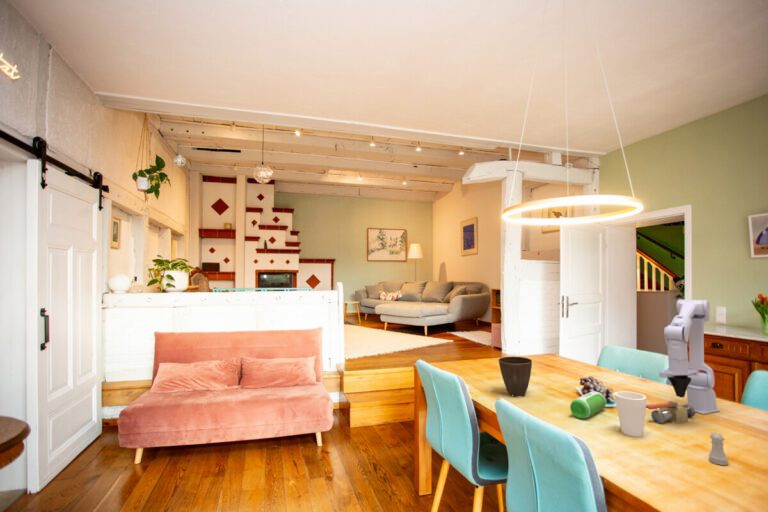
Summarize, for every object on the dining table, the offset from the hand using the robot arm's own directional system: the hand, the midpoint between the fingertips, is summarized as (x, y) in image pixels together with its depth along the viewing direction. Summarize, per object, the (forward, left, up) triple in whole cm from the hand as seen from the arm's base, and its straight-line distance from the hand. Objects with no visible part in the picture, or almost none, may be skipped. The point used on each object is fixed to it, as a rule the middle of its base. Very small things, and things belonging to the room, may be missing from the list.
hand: (680, 396), depth 140 cm
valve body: (-3, -5, -10) cm, 12 cm away
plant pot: (+31, -53, -11) cm, 62 cm away
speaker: (+20, -22, -11) cm, 32 cm away
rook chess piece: (+18, +22, -11) cm, 30 cm away
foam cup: (+22, -2, -11) cm, 24 cm away
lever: (+2, -6, -5) cm, 8 cm away
